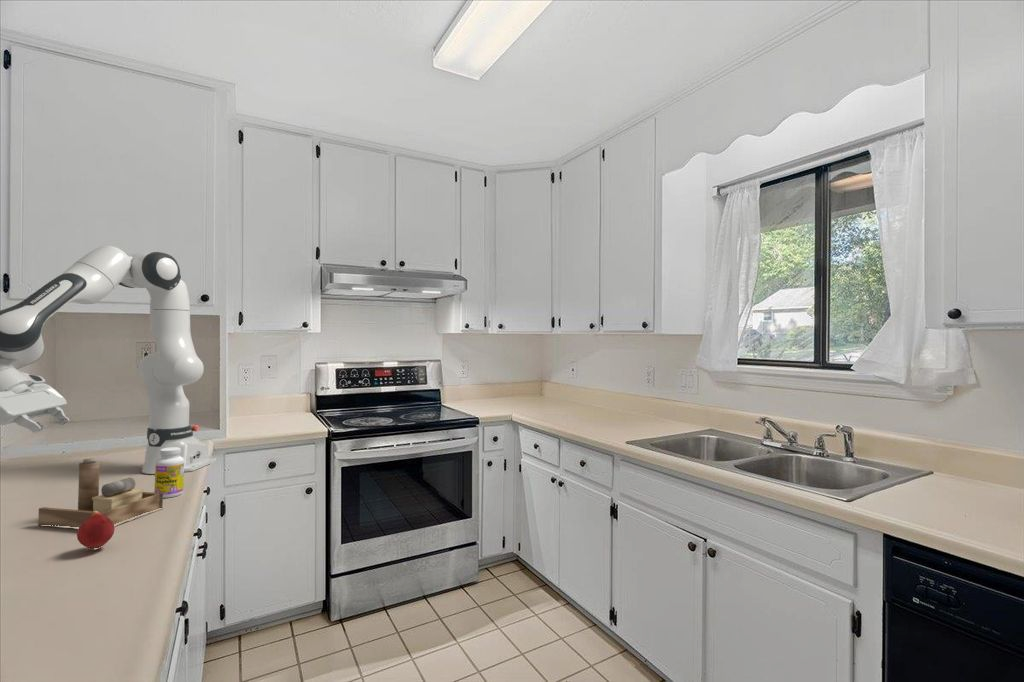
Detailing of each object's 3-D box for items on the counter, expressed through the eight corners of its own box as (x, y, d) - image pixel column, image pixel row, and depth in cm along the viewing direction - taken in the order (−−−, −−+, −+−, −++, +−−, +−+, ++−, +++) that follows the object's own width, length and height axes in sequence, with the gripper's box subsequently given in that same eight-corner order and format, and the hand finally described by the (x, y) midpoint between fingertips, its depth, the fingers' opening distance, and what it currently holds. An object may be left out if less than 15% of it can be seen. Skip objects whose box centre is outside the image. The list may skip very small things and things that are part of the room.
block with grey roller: (124, 510, 126) (125, 475, 126) (143, 511, 125) (144, 477, 125) (91, 521, 117) (92, 484, 118) (111, 523, 117) (112, 486, 117)
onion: (109, 542, 107) (110, 504, 107) (117, 549, 103) (118, 510, 103) (73, 550, 102) (74, 511, 103) (80, 558, 99) (81, 517, 99)
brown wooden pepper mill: (89, 510, 125) (90, 456, 126) (105, 511, 125) (107, 457, 125) (69, 516, 121) (71, 461, 121) (86, 517, 120) (88, 462, 120)
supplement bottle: (150, 499, 136) (151, 451, 136) (160, 492, 142) (161, 446, 142) (178, 497, 138) (179, 450, 138) (186, 491, 144) (188, 446, 144)
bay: (105, 504, 131) (105, 489, 131) (162, 509, 128) (162, 493, 128) (38, 526, 115) (38, 508, 115) (101, 531, 113) (102, 513, 113)
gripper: (-19, 383, 115) (32, 425, 117) (45, 375, 135) (88, 410, 137) (-42, 404, 114) (10, 445, 116) (26, 392, 134) (69, 427, 136)
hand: (53, 426), depth 127 cm, fingers open, 8 cm apart
